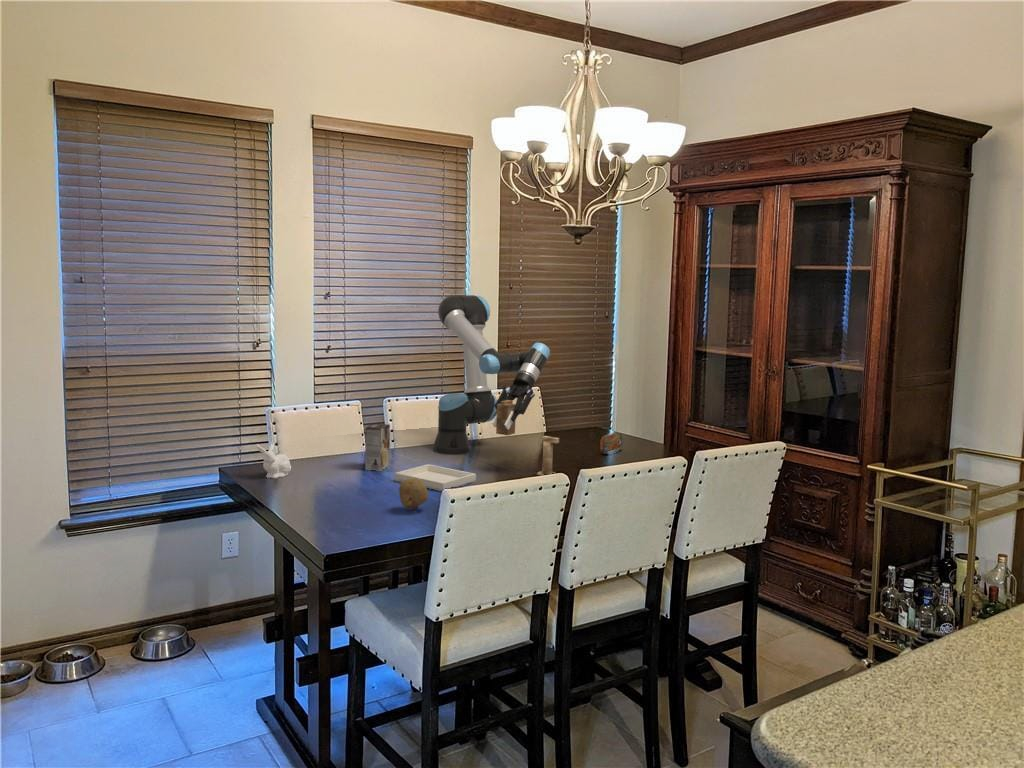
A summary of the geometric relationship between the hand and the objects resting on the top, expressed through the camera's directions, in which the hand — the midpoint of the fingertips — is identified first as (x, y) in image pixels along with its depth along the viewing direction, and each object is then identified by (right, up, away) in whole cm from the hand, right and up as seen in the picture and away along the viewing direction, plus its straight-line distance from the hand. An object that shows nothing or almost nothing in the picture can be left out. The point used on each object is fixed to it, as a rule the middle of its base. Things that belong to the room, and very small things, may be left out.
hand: (500, 426), depth 299 cm
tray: (-23, -19, -12) cm, 32 cm away
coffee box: (-46, -16, +5) cm, 49 cm away
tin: (+46, -14, +45) cm, 66 cm away
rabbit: (-79, -17, -12) cm, 82 cm away
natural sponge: (-26, -24, -47) cm, 58 cm away
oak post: (+17, -18, +2) cm, 25 cm away
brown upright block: (+2, -3, +4) cm, 5 cm away
